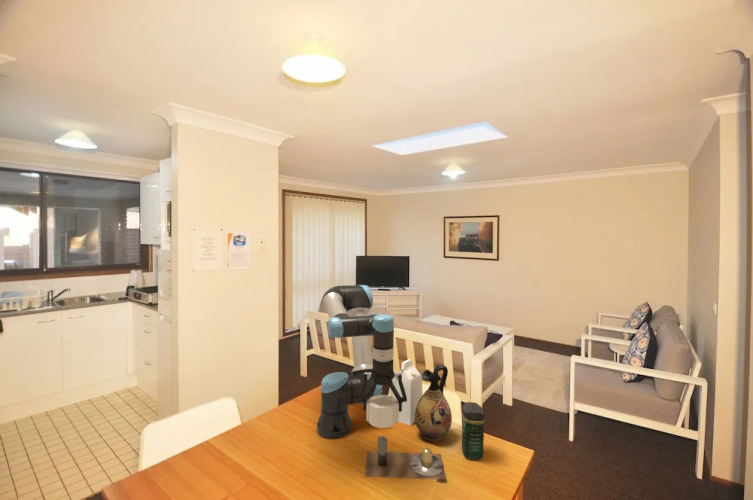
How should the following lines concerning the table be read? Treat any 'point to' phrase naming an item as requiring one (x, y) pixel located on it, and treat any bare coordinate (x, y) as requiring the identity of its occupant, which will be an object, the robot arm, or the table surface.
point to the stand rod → (382, 451)
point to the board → (397, 466)
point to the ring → (382, 411)
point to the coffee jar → (472, 431)
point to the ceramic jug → (433, 407)
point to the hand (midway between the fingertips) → (382, 419)
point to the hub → (426, 464)
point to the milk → (409, 391)
